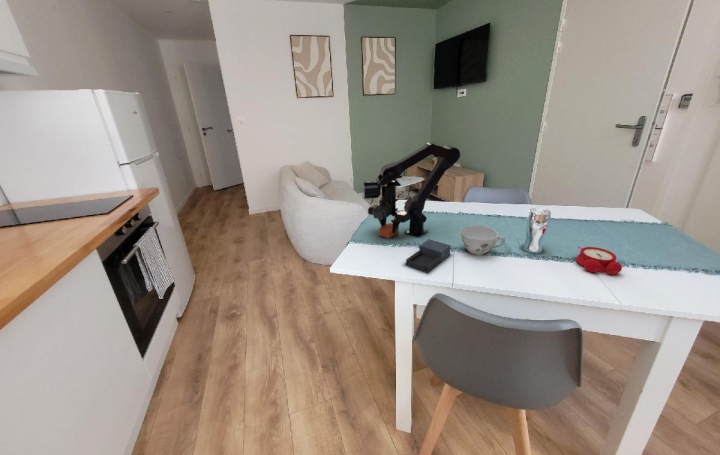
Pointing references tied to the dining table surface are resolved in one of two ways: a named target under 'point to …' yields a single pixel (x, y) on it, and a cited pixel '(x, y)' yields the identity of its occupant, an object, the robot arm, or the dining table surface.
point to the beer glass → (536, 229)
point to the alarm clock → (598, 260)
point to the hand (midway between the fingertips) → (389, 231)
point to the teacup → (480, 239)
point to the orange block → (387, 230)
